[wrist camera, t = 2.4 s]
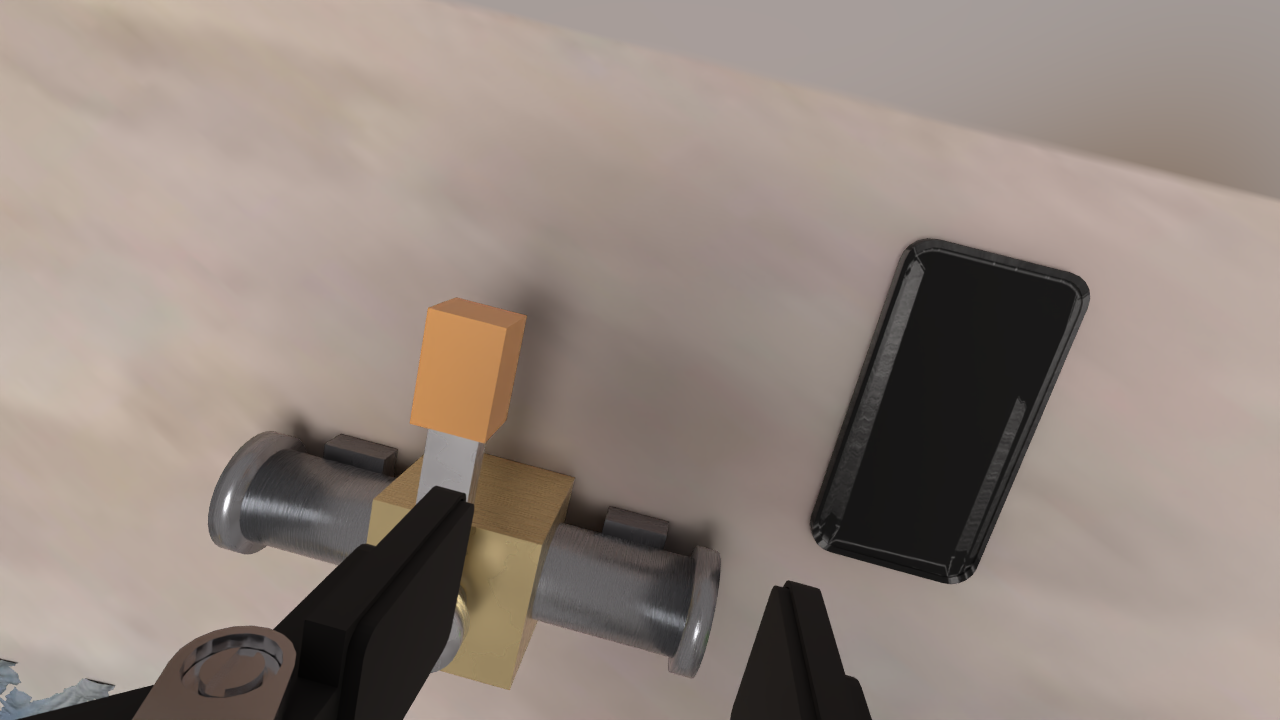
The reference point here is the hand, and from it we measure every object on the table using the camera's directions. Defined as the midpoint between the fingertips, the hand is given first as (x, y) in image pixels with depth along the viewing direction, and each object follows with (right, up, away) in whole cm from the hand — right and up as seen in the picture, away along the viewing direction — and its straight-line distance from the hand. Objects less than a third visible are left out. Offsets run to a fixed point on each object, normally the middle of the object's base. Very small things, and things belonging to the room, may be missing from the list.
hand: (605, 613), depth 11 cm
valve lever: (-6, 0, +13) cm, 15 cm away
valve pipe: (-7, -4, +22) cm, 23 cm away
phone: (+14, +2, +19) cm, 24 cm away
